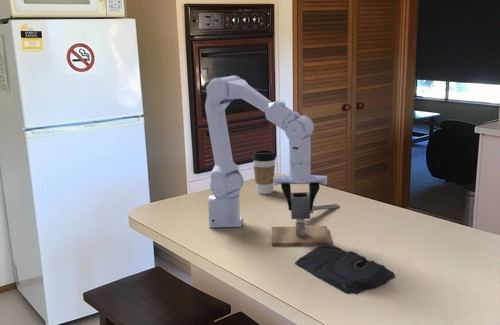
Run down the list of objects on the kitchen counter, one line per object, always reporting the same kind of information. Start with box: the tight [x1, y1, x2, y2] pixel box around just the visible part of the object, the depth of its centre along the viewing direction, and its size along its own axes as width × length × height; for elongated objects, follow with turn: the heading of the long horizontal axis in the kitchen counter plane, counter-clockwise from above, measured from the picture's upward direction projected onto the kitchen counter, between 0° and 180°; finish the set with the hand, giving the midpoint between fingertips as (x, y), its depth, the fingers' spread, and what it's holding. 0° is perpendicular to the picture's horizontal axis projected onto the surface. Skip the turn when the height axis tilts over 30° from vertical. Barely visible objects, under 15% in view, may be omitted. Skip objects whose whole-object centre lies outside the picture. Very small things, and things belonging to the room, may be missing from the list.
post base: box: [271, 220, 332, 247], centre depth 147 cm, size 16×12×5 cm
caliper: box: [295, 202, 340, 222], centre depth 165 cm, size 20×1×6 cm, turn 134°
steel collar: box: [290, 191, 311, 220], centre depth 145 cm, size 5×5×6 cm
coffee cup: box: [251, 149, 277, 195], centre depth 187 cm, size 8×8×15 cm
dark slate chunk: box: [294, 244, 396, 295], centre depth 126 cm, size 15×22×5 cm
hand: (300, 209), depth 145 cm, fingers closed on steel collar, 5 cm apart
